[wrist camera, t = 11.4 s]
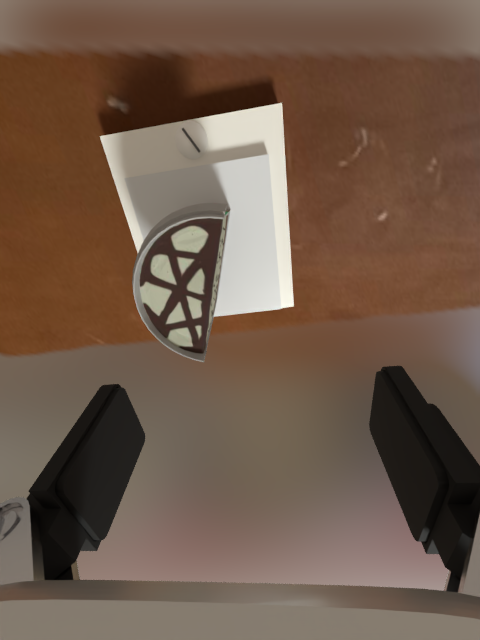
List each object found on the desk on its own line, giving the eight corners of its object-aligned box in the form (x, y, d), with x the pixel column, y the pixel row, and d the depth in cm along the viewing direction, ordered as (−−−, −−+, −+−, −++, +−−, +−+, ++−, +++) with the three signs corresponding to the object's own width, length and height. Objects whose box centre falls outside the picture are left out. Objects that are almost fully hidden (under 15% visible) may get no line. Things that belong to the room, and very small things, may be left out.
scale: (279, 107, 25) (283, 100, 22) (290, 297, 35) (295, 311, 31) (111, 138, 27) (93, 135, 24) (165, 312, 36) (157, 326, 33)
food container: (165, 179, 25) (121, 188, 17) (233, 192, 26) (225, 208, 17) (160, 301, 31) (126, 355, 23) (215, 310, 32) (203, 367, 23)
